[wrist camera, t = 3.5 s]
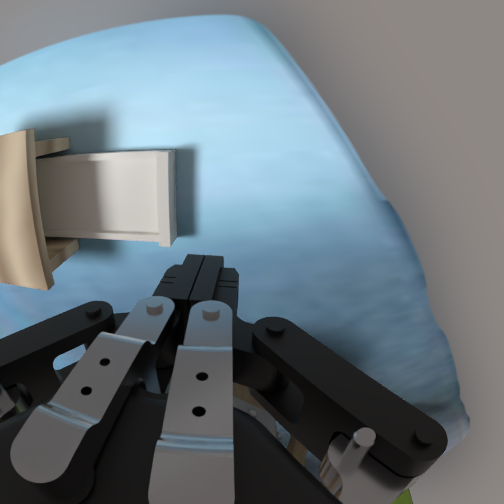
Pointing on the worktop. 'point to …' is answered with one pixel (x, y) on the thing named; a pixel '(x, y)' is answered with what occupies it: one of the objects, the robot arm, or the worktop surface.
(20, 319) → the worktop surface
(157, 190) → the white pull-out drawer
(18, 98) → the worktop surface
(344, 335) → the worktop surface
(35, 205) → the small wooden table
